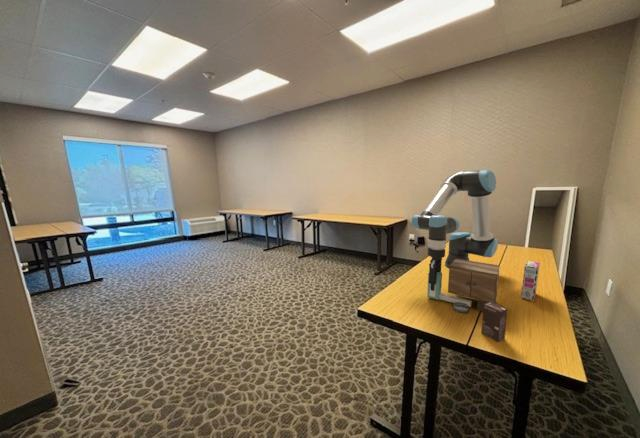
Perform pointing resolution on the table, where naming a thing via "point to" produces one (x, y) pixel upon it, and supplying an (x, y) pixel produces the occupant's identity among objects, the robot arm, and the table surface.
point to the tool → (444, 296)
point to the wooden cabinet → (474, 281)
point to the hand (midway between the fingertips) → (434, 293)
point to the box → (494, 321)
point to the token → (460, 307)
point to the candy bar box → (530, 280)
